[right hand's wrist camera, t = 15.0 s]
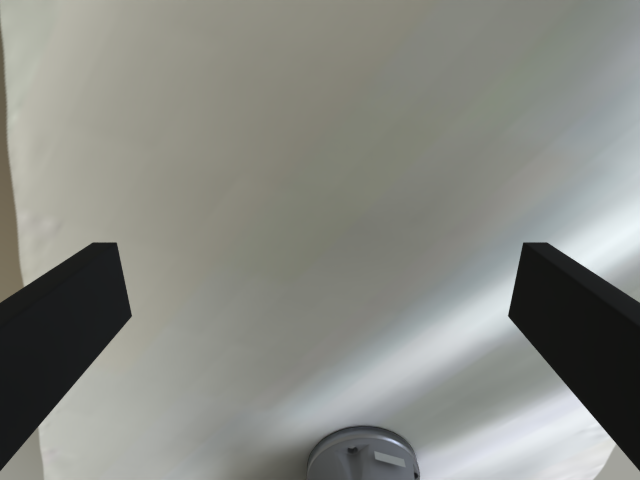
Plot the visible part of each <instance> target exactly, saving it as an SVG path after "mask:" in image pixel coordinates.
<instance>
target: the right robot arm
mask: <svg viewBox="0 0 640 480" xmlns="http://www.w3.org/2000/svg"><path fill="white" fill-rule="evenodd" d="M131 317H132V314H131V309H130V305H129V300H128V295H127V290H126V285H125V280H124V276H123V271H122V266H121V261H120V256H119V251H118V246H117V243H92V244H90V245H88V246H87V247H85V248H84V249H82V250H81V251H79V252H78V253H76V254H75V255H73V256H72V257H70V258H68V259H67V260H65V261H64V262H62V263H61V264H59V265H58V266H56V267H55V268H53V269H52V270H50V271H48V272H47V273H45V274H44V275H42V276H41V277H39V278H38V279H36V280H35V281H33V282H32V283H30V284H29V285H27V286H25V287H24V288H22V289H21V290H19V291H18V292H16V293H15V294H13V295H12V296H10V297H9V298H7V299H6V300H4V301H2V302H1V303H0V471H1V470H2V468H3V467H4V466H5V465H6V464H7V462H8V461H9V460H10V459H11V458H12V457H13V455H14V454H15V453H16V452H17V451H18V450H19V448H20V447H21V446H22V445H23V444H24V443H25V441H26V440H27V439H28V438H29V437H30V435H31V434H32V433H33V432H34V431H35V430H36V428H37V427H38V426H39V425H40V424H41V423H42V421H43V420H44V419H45V418H46V417H47V415H48V414H49V413H50V412H51V411H52V410H53V408H54V407H55V406H56V405H57V404H58V403H59V401H60V400H61V399H62V398H63V397H64V395H65V394H66V393H67V392H68V391H69V390H70V388H71V387H72V386H73V385H74V384H75V383H76V381H77V380H78V379H79V378H80V377H81V375H82V374H83V373H84V372H85V371H86V370H87V368H88V367H89V366H90V365H91V364H92V363H93V361H94V360H95V359H96V358H97V357H98V355H99V354H100V353H101V352H102V351H103V350H104V348H105V347H106V346H107V345H108V344H109V343H110V341H111V340H112V339H113V338H114V337H115V335H116V334H117V333H118V332H119V331H120V330H121V328H122V327H123V326H124V325H125V324H126V322H127V321H128V320H129V319H130V318H131ZM508 317H509V318H510V319H511V320H512V321H513V323H514V324H515V325H516V326H517V327H518V328H519V330H520V331H521V332H522V333H523V334H524V335H525V337H526V338H527V339H528V340H529V341H530V343H531V344H532V345H533V346H534V347H535V348H536V350H537V351H538V352H539V353H540V354H541V355H542V357H543V358H544V359H545V360H546V361H547V363H548V364H549V365H550V366H551V367H552V368H553V370H554V371H555V372H556V373H557V374H558V375H559V377H560V378H561V379H562V380H563V381H564V383H565V384H566V385H567V386H568V387H569V388H570V390H571V391H572V392H573V393H574V394H575V395H576V397H577V398H578V399H579V400H580V401H581V403H582V404H583V405H584V406H585V407H586V408H587V410H588V411H589V412H590V413H591V414H592V415H593V417H594V418H595V419H596V420H597V421H598V423H599V424H600V425H601V426H602V427H603V428H604V430H605V431H606V432H607V433H608V434H609V435H610V437H611V438H612V439H613V440H614V441H615V443H616V444H617V445H618V446H619V447H620V448H621V450H622V451H623V452H624V453H625V454H626V455H627V457H628V458H629V459H630V460H631V461H632V463H633V464H634V465H635V466H636V467H637V468H638V470H639V471H640V303H639V302H638V301H636V300H635V299H633V298H631V297H630V296H628V295H627V294H625V293H624V292H622V291H621V290H619V289H618V288H616V287H615V286H613V285H611V284H610V283H608V282H607V281H605V280H604V279H602V278H601V277H599V276H598V275H596V274H595V273H593V272H592V271H590V270H588V269H587V268H585V267H584V266H582V265H581V264H579V263H578V262H576V261H575V260H573V259H572V258H570V257H568V256H567V255H565V254H564V253H562V252H561V251H559V250H558V249H556V248H555V247H553V246H552V245H550V244H548V243H523V246H522V251H521V256H520V261H519V266H518V271H517V276H516V280H515V285H514V290H513V295H512V300H511V305H510V309H509V314H508ZM307 480H420V472H419V467H418V463H417V459H416V456H415V453H414V451H413V449H412V448H411V446H410V445H409V444H408V443H407V442H406V441H405V440H404V439H403V438H401V437H400V436H398V435H396V434H394V433H392V432H390V431H387V430H384V429H380V428H374V427H354V428H348V429H344V430H341V431H338V432H336V433H333V434H331V435H329V436H328V437H326V438H325V439H323V440H322V441H321V442H320V443H319V444H318V445H317V446H316V447H315V448H314V449H313V451H312V453H311V454H310V457H309V459H308V465H307Z"/></svg>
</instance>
